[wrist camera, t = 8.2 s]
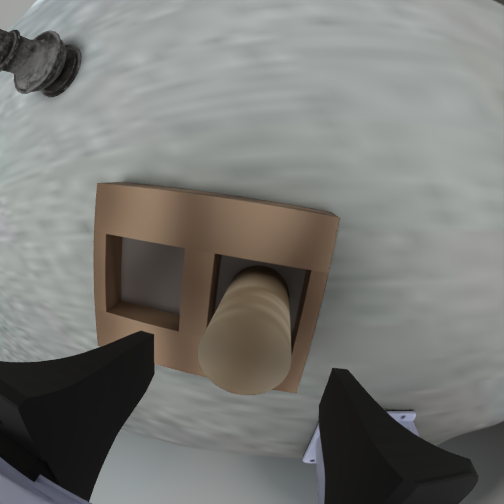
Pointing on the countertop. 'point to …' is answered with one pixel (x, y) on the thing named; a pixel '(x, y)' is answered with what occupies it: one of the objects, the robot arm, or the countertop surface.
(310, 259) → the block
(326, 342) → the countertop surface
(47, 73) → the grey chess piece
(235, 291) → the beech pin
